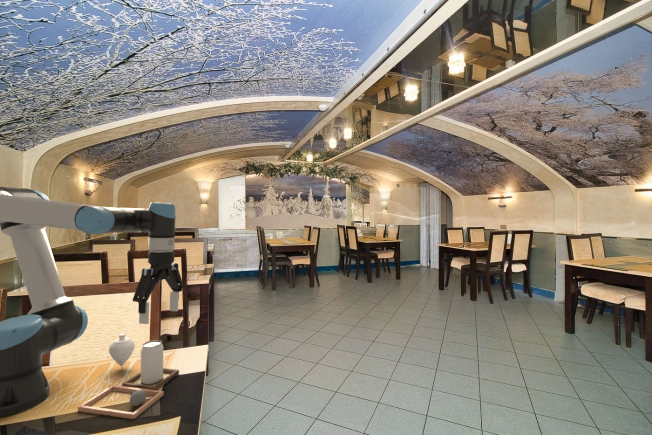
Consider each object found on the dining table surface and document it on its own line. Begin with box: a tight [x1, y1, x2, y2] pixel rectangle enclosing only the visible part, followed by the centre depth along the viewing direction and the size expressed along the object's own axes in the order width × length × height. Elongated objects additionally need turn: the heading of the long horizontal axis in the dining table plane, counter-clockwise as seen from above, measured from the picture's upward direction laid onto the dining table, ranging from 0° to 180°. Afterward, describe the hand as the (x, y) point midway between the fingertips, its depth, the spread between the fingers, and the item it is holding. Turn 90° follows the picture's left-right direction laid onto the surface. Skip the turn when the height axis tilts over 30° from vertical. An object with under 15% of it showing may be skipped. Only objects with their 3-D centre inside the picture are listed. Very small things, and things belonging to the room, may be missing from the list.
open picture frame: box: [77, 384, 165, 420], centre depth 92 cm, size 18×12×1 cm, turn 80°
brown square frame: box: [121, 367, 180, 391], centre depth 105 cm, size 12×12×1 cm
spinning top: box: [108, 333, 136, 369], centre depth 113 cm, size 8×8×12 cm
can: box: [140, 339, 164, 385], centre depth 105 cm, size 6×6×12 cm
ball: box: [129, 390, 147, 407], centre depth 91 cm, size 4×4×4 cm
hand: (159, 316), depth 103 cm, fingers open, 13 cm apart
